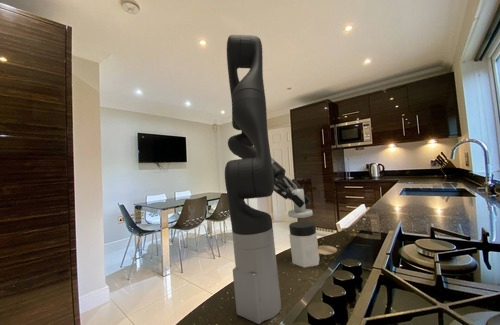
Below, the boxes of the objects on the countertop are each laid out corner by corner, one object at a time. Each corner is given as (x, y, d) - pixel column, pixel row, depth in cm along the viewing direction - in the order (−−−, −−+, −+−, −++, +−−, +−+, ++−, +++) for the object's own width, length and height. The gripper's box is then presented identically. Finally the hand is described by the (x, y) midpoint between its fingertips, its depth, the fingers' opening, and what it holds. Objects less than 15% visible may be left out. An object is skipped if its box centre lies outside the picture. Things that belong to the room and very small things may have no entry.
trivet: (333, 257, 67) (332, 255, 67) (309, 253, 72) (309, 252, 72) (340, 248, 74) (339, 247, 74) (317, 245, 78) (317, 244, 79)
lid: (306, 218, 61) (303, 190, 62) (284, 217, 66) (281, 191, 66) (316, 212, 67) (313, 187, 68) (295, 212, 72) (292, 188, 72)
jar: (297, 270, 61) (292, 229, 62) (288, 259, 69) (284, 223, 70) (325, 265, 62) (321, 225, 63) (314, 255, 70) (309, 219, 71)
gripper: (263, 161, 67) (302, 199, 58) (284, 160, 78) (320, 192, 69) (251, 179, 70) (288, 217, 61) (274, 175, 81) (307, 208, 72)
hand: (305, 204), depth 65 cm, fingers closed on lid, 3 cm apart
